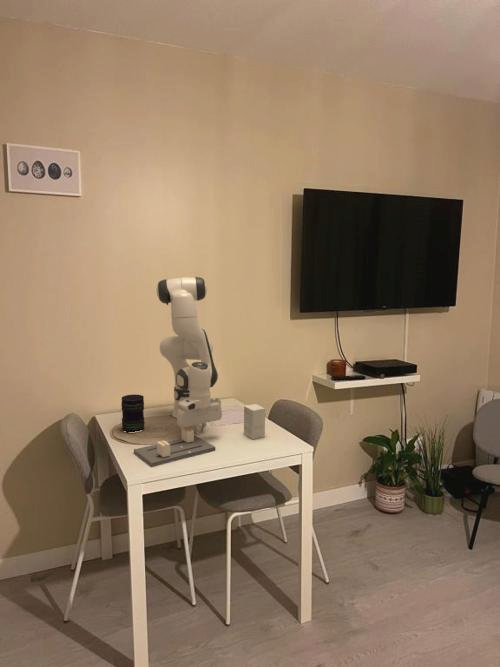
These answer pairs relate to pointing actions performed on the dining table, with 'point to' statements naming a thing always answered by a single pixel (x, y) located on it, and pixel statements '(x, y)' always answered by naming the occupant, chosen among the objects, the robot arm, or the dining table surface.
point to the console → (174, 451)
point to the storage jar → (132, 413)
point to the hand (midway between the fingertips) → (200, 433)
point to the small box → (254, 421)
